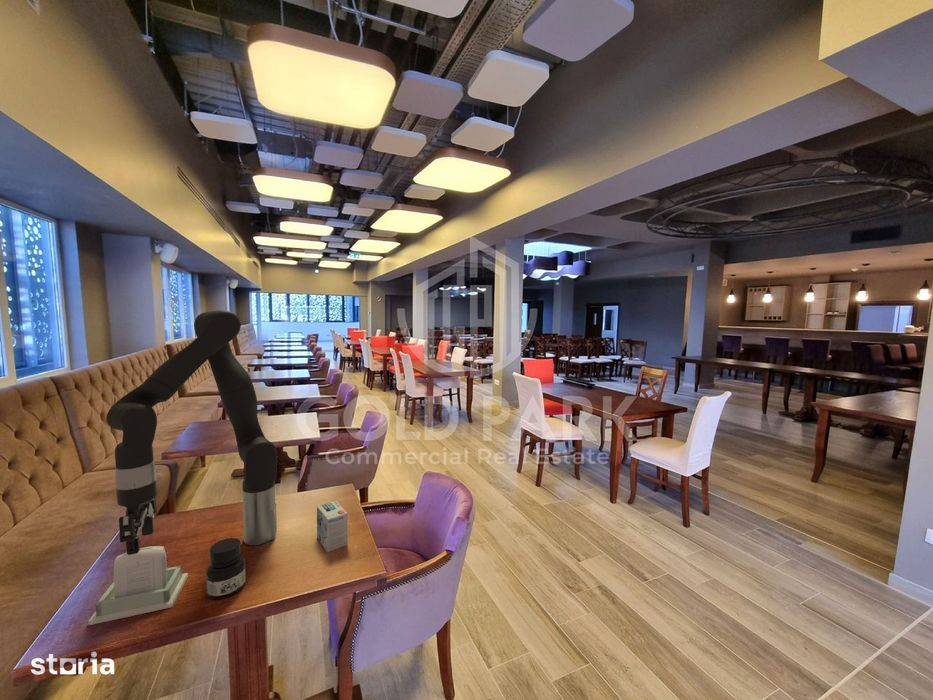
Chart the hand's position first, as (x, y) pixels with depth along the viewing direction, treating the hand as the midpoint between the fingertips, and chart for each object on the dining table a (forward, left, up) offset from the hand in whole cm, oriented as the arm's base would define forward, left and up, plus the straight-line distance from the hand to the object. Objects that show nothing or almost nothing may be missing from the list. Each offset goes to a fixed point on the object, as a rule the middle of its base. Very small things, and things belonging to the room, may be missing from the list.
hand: (141, 543), depth 94 cm
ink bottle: (-19, +3, -15) cm, 24 cm away
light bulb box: (-46, -10, -15) cm, 49 cm away
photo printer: (0, 0, -14) cm, 14 cm away
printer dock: (0, 0, -15) cm, 15 cm away
